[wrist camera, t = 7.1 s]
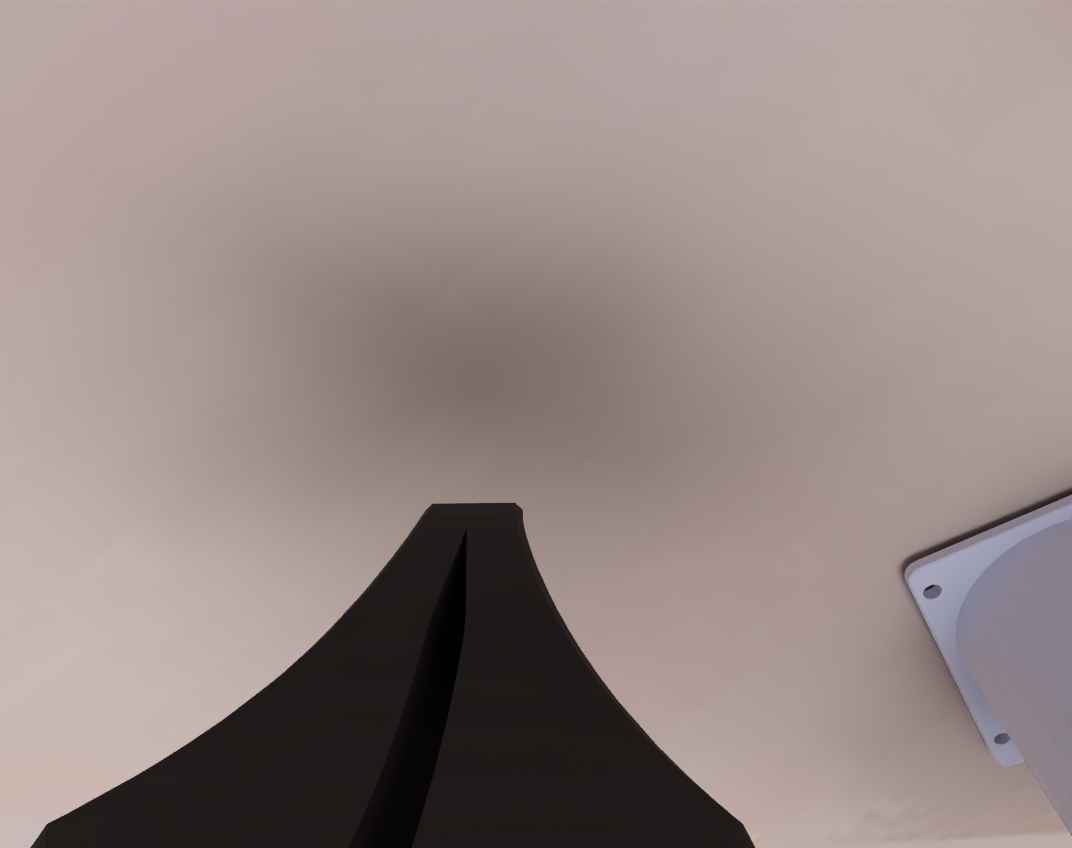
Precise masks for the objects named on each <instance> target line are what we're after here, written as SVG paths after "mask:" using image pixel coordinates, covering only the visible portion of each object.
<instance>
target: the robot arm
mask: <svg viewBox="0 0 1072 848" xmlns="http://www.w3.org/2000/svg"><path fill="white" fill-rule="evenodd" d="M904 576H905V580H906V582H907V584H908V586H909V588H910V590H911V592H912V594H913V596H914V599H915V601H916V603H917V605H918V607H919V609H920V611H921V613H922V615H923V617H924V619H925V621H926V623H927V625H928V627H929V629H930V631H931V633H932V635H933V637H934V639H935V641H936V643H937V645H938V647H939V649H940V651H941V653H942V655H943V658H944V660H945V662H946V664H947V666H948V668H949V670H950V672H951V674H952V676H953V678H954V680H955V682H956V684H957V686H958V688H959V690H960V692H961V694H962V696H963V698H964V700H965V702H966V704H967V706H968V708H969V710H970V712H971V715H972V717H973V719H974V721H975V723H976V725H977V727H978V729H979V731H980V733H981V735H982V737H983V739H984V741H985V743H986V745H987V747H988V749H989V751H990V753H991V755H992V757H993V758H994V760H995V762H996V763H997V764H998V765H1001V766H1007V767H1010V766H1015V765H1018V764H1020V763H1023V762H1026V764H1027V765H1028V767H1029V768H1030V770H1031V772H1032V773H1033V775H1034V776H1035V778H1036V780H1037V781H1038V783H1039V784H1040V786H1041V788H1042V789H1043V791H1044V792H1045V794H1046V795H1047V797H1048V799H1049V800H1050V802H1051V803H1052V805H1053V807H1054V808H1055V810H1056V811H1057V813H1058V815H1059V816H1060V818H1061V819H1062V821H1063V822H1064V824H1065V826H1066V827H1067V829H1068V830H1069V832H1070V834H1071V835H1072V495H1070V496H1067V497H1065V498H1063V499H1060V500H1058V501H1056V502H1053V503H1051V504H1048V505H1046V506H1044V507H1041V508H1039V509H1037V510H1034V511H1032V512H1030V513H1027V514H1025V515H1022V516H1020V517H1018V518H1015V519H1013V520H1011V521H1008V522H1006V523H1004V524H1001V525H999V526H997V527H994V528H992V529H989V530H987V531H985V532H982V533H980V534H978V535H975V536H973V537H971V538H968V539H966V540H963V541H961V542H959V543H956V544H954V545H952V546H949V547H947V548H945V549H942V550H940V551H937V552H935V553H933V554H930V555H928V556H926V557H923V558H921V559H919V560H916V561H915V562H913V563H911V564H910V565H909V566H908V567H907V568H906V570H905V574H904ZM930 585H934V587H933V588H931V589H929V590H925V588H927V587H928V586H930ZM31 848H755V846H754V845H753V843H752V841H751V839H750V837H749V835H748V833H747V831H746V829H745V827H744V825H743V824H742V823H741V822H740V821H738V820H737V819H736V818H735V817H734V816H732V815H731V814H730V813H729V812H728V811H727V810H725V809H724V808H723V807H722V806H721V805H719V804H718V803H717V802H716V801H715V800H714V799H712V798H711V797H710V796H709V795H708V794H707V793H706V792H705V791H704V790H703V789H701V788H700V787H699V786H698V785H697V784H696V783H695V782H694V781H693V780H692V779H690V778H689V777H688V776H687V775H686V774H685V773H684V772H683V771H682V770H681V769H680V768H679V767H678V766H677V765H676V764H675V763H674V762H673V761H672V760H671V759H670V758H669V757H668V756H667V755H666V754H665V753H664V752H663V751H662V750H661V749H660V748H659V747H658V746H657V745H656V744H655V742H654V741H653V740H652V739H651V738H650V737H649V736H648V735H647V733H646V732H645V731H644V730H643V729H642V728H641V727H640V725H639V724H638V723H637V722H636V721H635V720H634V719H633V718H632V716H631V715H630V714H629V713H628V712H627V711H626V710H625V708H624V707H623V706H622V705H621V704H620V703H619V702H618V700H617V699H616V698H615V696H614V695H613V694H612V692H611V691H610V690H609V689H608V687H607V686H606V685H605V683H604V682H603V681H602V679H601V678H600V677H599V675H598V674H597V673H596V671H595V670H594V668H593V667H592V665H591V664H590V662H589V661H588V660H587V658H586V657H585V655H584V654H583V652H582V651H581V649H580V647H579V646H578V644H577V643H576V641H575V640H574V638H573V636H572V635H571V633H570V631H569V630H568V628H567V626H566V624H565V622H564V621H563V619H562V617H561V615H560V614H559V612H558V610H557V608H556V606H555V604H554V602H553V600H552V598H551V596H550V594H549V592H548V590H547V588H546V586H545V583H544V581H543V579H542V577H541V575H540V572H539V570H538V568H537V565H536V563H535V560H534V558H533V555H532V552H531V549H530V546H529V543H528V540H527V537H526V533H525V529H524V524H523V510H522V509H521V508H520V507H519V506H518V505H517V504H516V503H459V504H432V505H431V506H430V507H429V508H428V509H427V510H426V511H425V512H424V514H423V515H422V517H421V518H420V520H419V521H418V523H417V524H416V526H415V527H414V528H413V530H412V531H411V533H410V534H409V535H408V537H407V538H406V540H405V541H404V542H403V544H402V545H401V546H400V548H399V549H398V550H397V552H396V553H395V554H394V556H393V557H392V558H391V560H390V561H389V562H388V563H387V564H386V566H385V567H384V568H383V569H382V571H381V572H380V573H379V574H378V576H377V577H376V578H375V579H374V581H373V582H372V583H371V584H370V585H369V587H368V588H367V589H366V590H365V591H364V592H363V594H362V595H361V596H360V597H359V598H358V599H357V600H356V601H355V602H354V604H353V605H352V606H351V607H350V608H349V609H348V610H347V611H346V612H345V613H344V614H343V615H342V617H341V618H340V619H339V620H338V621H337V622H336V623H335V624H334V625H333V626H332V627H331V628H330V629H329V630H328V631H327V632H326V633H325V634H324V635H323V636H322V637H321V638H320V639H319V640H318V641H317V642H316V643H315V644H314V645H313V646H312V647H311V648H310V649H309V650H308V651H307V652H306V653H305V654H304V655H303V656H302V657H300V658H299V659H298V660H297V661H296V662H295V663H294V664H293V665H292V666H290V667H289V668H288V669H287V670H286V671H285V672H284V673H283V674H281V675H280V676H279V677H278V678H277V679H275V680H274V681H273V682H272V683H270V684H269V685H268V686H267V687H265V688H264V689H263V690H261V691H260V692H259V693H257V694H256V695H255V696H254V697H252V698H251V699H250V700H248V701H247V702H246V703H244V704H243V705H242V706H241V707H239V708H238V709H237V710H235V711H234V712H233V713H231V714H230V715H229V716H227V717H226V718H225V719H223V720H222V721H221V722H219V723H218V724H216V725H215V726H213V727H212V728H210V729H209V730H207V731H206V732H204V733H203V734H202V735H200V736H199V737H197V738H196V739H194V740H193V741H191V742H190V743H188V744H187V745H185V746H183V747H182V748H180V749H179V750H177V751H176V752H174V753H172V754H171V755H169V756H168V757H166V758H164V759H163V760H161V761H160V762H158V763H157V764H155V765H153V766H152V767H150V768H148V769H147V770H145V771H143V772H142V773H140V774H138V775H136V776H135V777H133V778H131V779H129V780H128V781H126V782H124V783H122V784H120V785H119V786H117V787H115V788H113V789H111V790H109V791H108V792H106V793H104V794H102V795H100V796H99V797H97V798H95V799H93V800H91V801H89V802H88V803H86V804H84V805H82V806H80V807H79V808H77V809H75V810H73V811H71V812H70V813H68V814H66V815H64V816H62V817H60V818H58V819H56V820H54V821H52V822H50V823H48V824H47V825H46V826H45V828H44V829H43V831H42V832H41V834H40V835H39V837H38V838H37V839H36V841H35V842H34V844H33V845H32V846H31Z"/></svg>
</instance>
